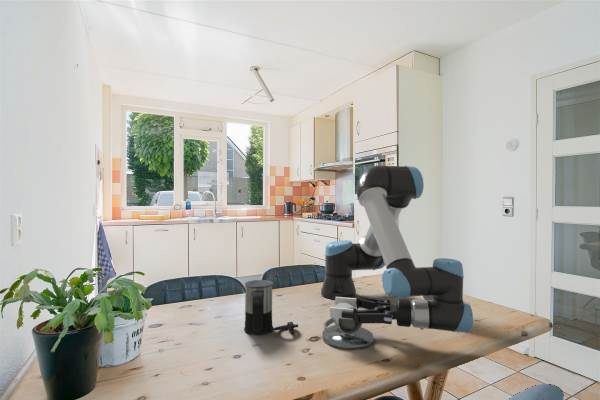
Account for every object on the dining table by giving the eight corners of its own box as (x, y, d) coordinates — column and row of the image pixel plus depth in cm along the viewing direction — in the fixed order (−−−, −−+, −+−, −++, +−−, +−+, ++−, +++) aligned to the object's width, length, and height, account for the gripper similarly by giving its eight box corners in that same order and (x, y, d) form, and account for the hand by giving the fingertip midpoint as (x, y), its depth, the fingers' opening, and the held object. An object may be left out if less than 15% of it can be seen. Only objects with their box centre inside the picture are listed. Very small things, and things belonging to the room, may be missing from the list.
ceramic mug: (352, 323, 100) (352, 298, 100) (363, 333, 92) (363, 306, 92) (320, 326, 98) (319, 301, 98) (328, 337, 90) (328, 310, 90)
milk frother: (241, 326, 105) (241, 280, 105) (286, 319, 111) (286, 276, 111) (251, 344, 91) (252, 292, 91) (302, 335, 98) (302, 286, 98)
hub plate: (312, 334, 98) (312, 330, 98) (350, 325, 106) (350, 321, 106) (343, 354, 85) (343, 350, 85) (384, 342, 93) (384, 338, 93)
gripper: (415, 343, 80) (326, 333, 86) (408, 313, 102) (337, 307, 107) (415, 313, 80) (326, 305, 86) (408, 289, 102) (338, 284, 107)
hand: (333, 306), depth 96 cm, fingers closed on ceramic mug, 10 cm apart
